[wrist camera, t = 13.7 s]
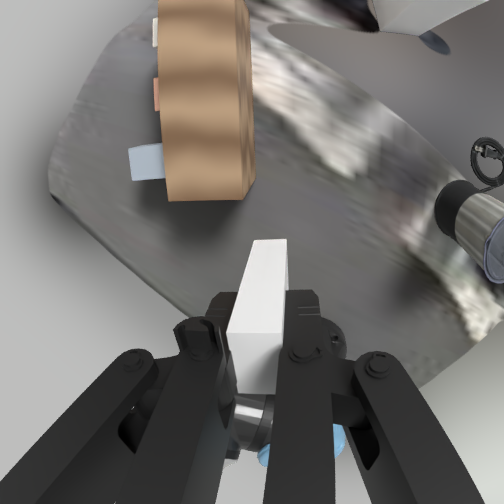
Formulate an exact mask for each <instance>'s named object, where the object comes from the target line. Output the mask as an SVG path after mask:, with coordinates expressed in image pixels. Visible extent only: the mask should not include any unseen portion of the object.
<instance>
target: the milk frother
mask: <svg viewBox="0 0 504 504" xmlns="http://www.w3.org/2000/svg"><path fill="white" fill-rule="evenodd" d="M486 145H489V146H491V147H493V148H495V149H496V150H491V149H489V148H488V147H487V146H486ZM497 151H498V153H497ZM478 152H481V156H482V157H484V158H486V156H487V157H491V158H493V159H496V158H497V159H499V160H501V161H502V165H503V170H502V172H501V174H500V175H499V176H498V177H495V178H488V177H487V176H485V175H484V174H483V173H482V171H481V170H480V168H479V165H478V162H477V154H478ZM471 166H472V168H473V171H474V173H475V175H476V176H477V177H478V178H479V180H481V181H482V182H483V183H485V184H487V185H490V186H491V187H488V188H485V189H482V190H479V189H477V188H475V187H474V186H473V185H472V184H471V183H470V182H468V181H465V180H456V181H453V182H451V183H449V184H447V185H446V186H445V187H444V188H443V190H442V191H441V193H440V194H439V196H438V199H437V202H436V206H435V217H436V222H437V224H438V226H439V228H440V229H441V231H442V232H443V233H445V234H446V235H448V236H450V237H451V238H452V239H454V240H455V241H456V242H457V243H458V244H459V245H460V246H461V247H462V248H463V249H464V250H465V251H466V252H467V253H468V254H469V255H470V256H471V257H472V258H473V259H474V260H475V261H476V262H477V263H478V264H479V265H480V267H481V268H482V269H483V270H484V271H485V274H486V276H487V277H488V278H489V280H490V281H492V282H495V283H504V203H502V202H500V201H498V200H497V199H495V198H493V197H491V196H489V195H488V194H486V193H484V192H486V191H489V190H491V189H493V188H496V187H499V186H501V185H503V184H504V148H503V147H502V146H501V145H500V144H499V142H497V141H496V140H494V139H492V138H489V137H482V138H479V139H478V140H477V141H476V142H475V143H474V145H473V147H472V150H471Z"/></svg>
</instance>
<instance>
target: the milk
mask: <svg viewBox="0 0 504 504" xmlns="http://www.w3.org/2000/svg"><path fill="white" fill-rule="evenodd" d="M486 1H488V0H372V2H373V5H374V9H375V12H376V16H377V20H378V25H379V29H380V32H390V33H399V34H408V35H414V36H419V35H421V34H422V33H424V32H426V31H428V30H430V29H431V28H433V27H435V26H437V25H439V24H441V23H443V22H445V21H446V20H448V19H450V18H452V17H454V16H456V15H458V14H460V13H462V12H464V11H466V10H468V9H471V8H473V7H475V6H477V5H479V4H482V3H484V2H486Z"/></svg>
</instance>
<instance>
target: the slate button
mask: <svg viewBox="0 0 504 504" xmlns="http://www.w3.org/2000/svg"><path fill="white" fill-rule="evenodd" d="M128 150H129V159H130V167H131V175H132V181H136V180H147V179H159V178H166V176H165V166H164V156H163V145H162V143H154V144H147V145H141V146H137V147H133V148H130V149H128Z"/></svg>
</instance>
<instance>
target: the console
mask: <svg viewBox="0 0 504 504" xmlns="http://www.w3.org/2000/svg"><path fill="white" fill-rule="evenodd" d="M158 83H159V104H160V120H161V133H162V145H163V156H164V166H165V176H166V185H167V193H168V201H197V200H243V199H244V197H245V195H246V194H247V192H248V190H249V189H250V187H251V185H252V184H253V182H254V180H255V179H256V169H255V141H254V115H253V89H252V65H251V42H250V19H249V11H248V8H247V6H246V4H245V2H244V0H158Z"/></svg>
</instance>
